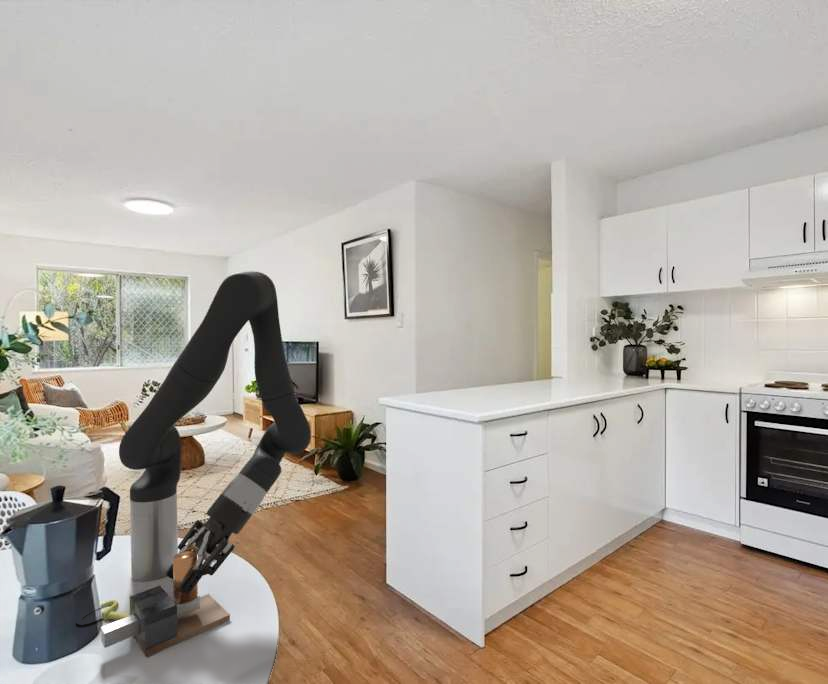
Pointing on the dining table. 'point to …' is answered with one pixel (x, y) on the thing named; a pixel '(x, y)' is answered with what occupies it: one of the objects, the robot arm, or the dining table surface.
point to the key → (112, 611)
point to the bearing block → (154, 616)
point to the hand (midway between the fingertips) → (176, 584)
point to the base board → (193, 624)
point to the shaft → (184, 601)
